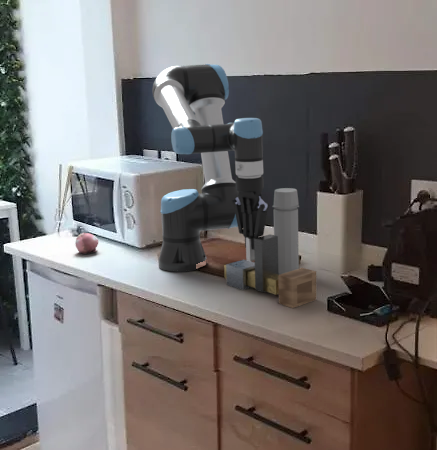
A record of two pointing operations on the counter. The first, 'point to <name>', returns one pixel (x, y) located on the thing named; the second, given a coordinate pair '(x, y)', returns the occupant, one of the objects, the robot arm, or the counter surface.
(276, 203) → the water bottle
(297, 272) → the socket block
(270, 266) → the grey and yellow block
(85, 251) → the apple
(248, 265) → the sleeve
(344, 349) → the counter surface
